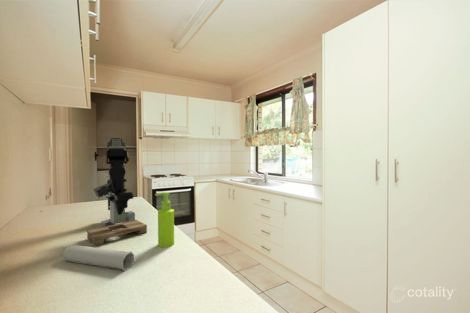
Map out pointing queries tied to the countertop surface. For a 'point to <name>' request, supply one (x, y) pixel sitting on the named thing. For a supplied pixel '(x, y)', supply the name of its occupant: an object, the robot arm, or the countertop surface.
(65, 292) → the countertop surface
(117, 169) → the robot arm
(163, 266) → the countertop surface
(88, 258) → the tube
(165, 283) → the countertop surface
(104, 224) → the grey metal cube
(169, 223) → the soap dispenser
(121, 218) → the long pin
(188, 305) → the countertop surface
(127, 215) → the medium pin
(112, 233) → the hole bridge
